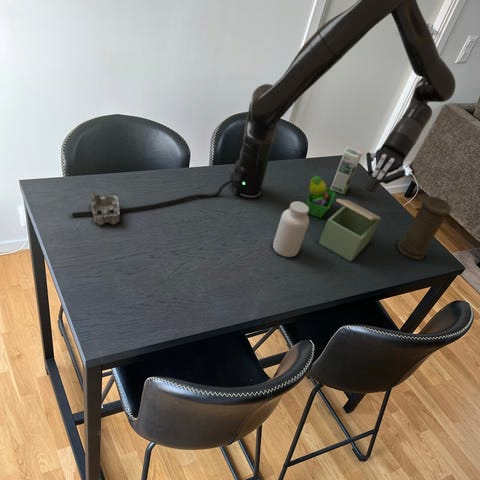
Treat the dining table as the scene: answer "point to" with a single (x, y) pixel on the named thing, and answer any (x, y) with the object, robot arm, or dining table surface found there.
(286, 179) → the dining table surface
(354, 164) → the syrup box
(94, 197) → the egg carton
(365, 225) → the caddy
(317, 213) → the fruit basket
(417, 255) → the container
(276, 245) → the pill bottle
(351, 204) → the lid
